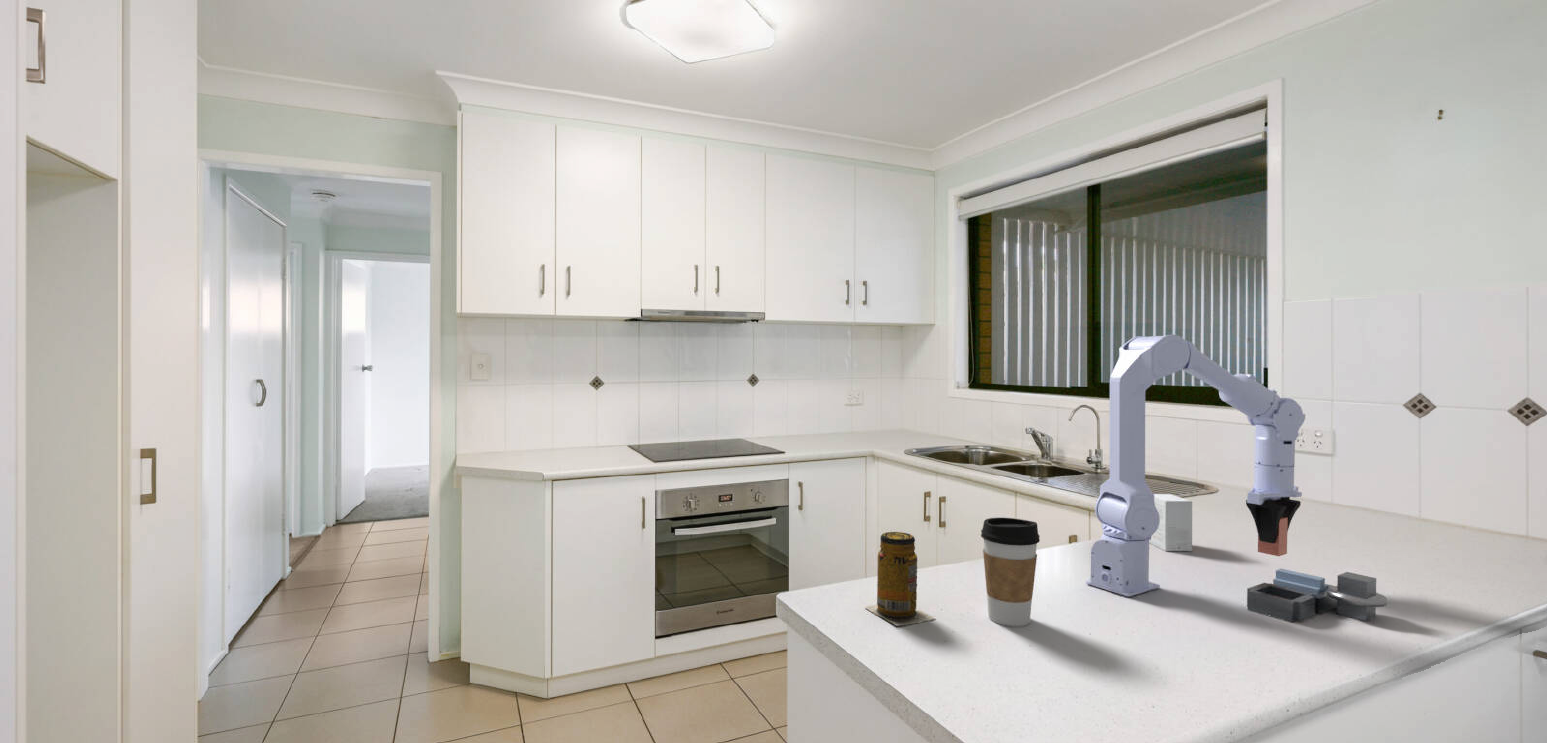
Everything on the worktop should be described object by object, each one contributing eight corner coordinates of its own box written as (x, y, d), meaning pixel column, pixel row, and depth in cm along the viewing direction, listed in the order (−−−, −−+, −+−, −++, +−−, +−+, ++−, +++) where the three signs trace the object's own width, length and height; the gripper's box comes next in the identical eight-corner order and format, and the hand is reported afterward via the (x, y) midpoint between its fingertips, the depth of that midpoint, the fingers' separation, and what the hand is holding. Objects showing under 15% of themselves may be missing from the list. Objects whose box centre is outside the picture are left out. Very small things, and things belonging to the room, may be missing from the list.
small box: (1192, 552, 138) (1193, 501, 138) (1165, 551, 138) (1166, 501, 138) (1170, 541, 146) (1171, 493, 146) (1144, 541, 146) (1145, 493, 146)
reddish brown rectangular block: (1278, 556, 117) (1279, 519, 117) (1257, 551, 120) (1258, 515, 120) (1286, 553, 119) (1287, 517, 119) (1266, 549, 122) (1267, 513, 122)
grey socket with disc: (1352, 640, 95) (1353, 597, 95) (1238, 607, 107) (1239, 569, 107) (1397, 617, 103) (1398, 578, 103) (1286, 589, 116) (1287, 554, 116)
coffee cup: (1010, 634, 96) (1011, 530, 96) (968, 614, 103) (969, 517, 103) (1051, 624, 100) (1052, 523, 99) (1007, 605, 107) (1008, 512, 107)
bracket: (1317, 609, 107) (1317, 581, 107) (1272, 598, 112) (1273, 571, 112) (1326, 604, 109) (1327, 577, 109) (1282, 593, 114) (1283, 567, 114)
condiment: (901, 601, 109) (902, 528, 109) (936, 620, 101) (936, 540, 101) (864, 608, 106) (864, 532, 105) (896, 628, 98) (897, 546, 98)
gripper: (1281, 470, 112) (1279, 551, 112) (1319, 464, 120) (1317, 540, 120) (1234, 465, 118) (1232, 541, 118) (1273, 459, 126) (1271, 531, 126)
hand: (1272, 540), depth 120 cm, fingers closed on reddish brown rectangular block, 3 cm apart
